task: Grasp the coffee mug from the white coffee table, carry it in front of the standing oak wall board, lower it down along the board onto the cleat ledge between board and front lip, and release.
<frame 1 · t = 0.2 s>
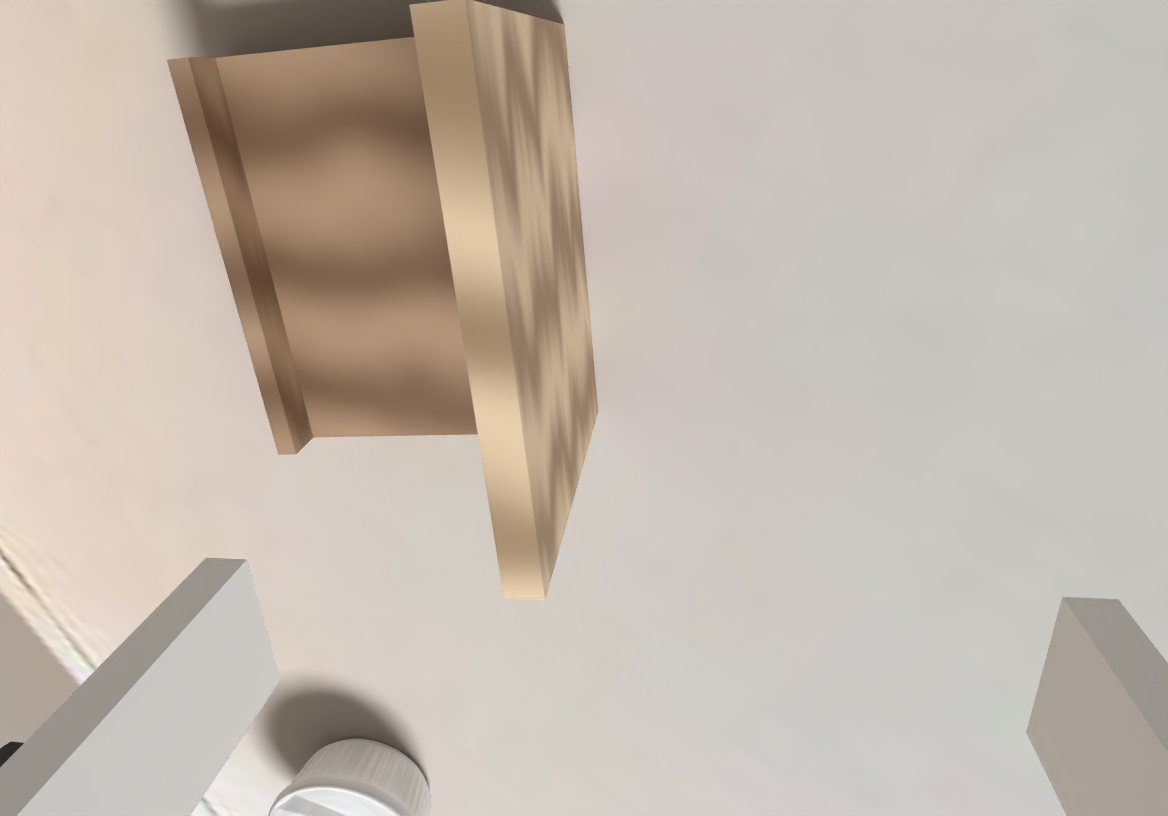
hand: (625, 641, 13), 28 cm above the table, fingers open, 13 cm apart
ramekin: (373, 777, 57), on the table
cleat board: (419, 247, 39), on the table
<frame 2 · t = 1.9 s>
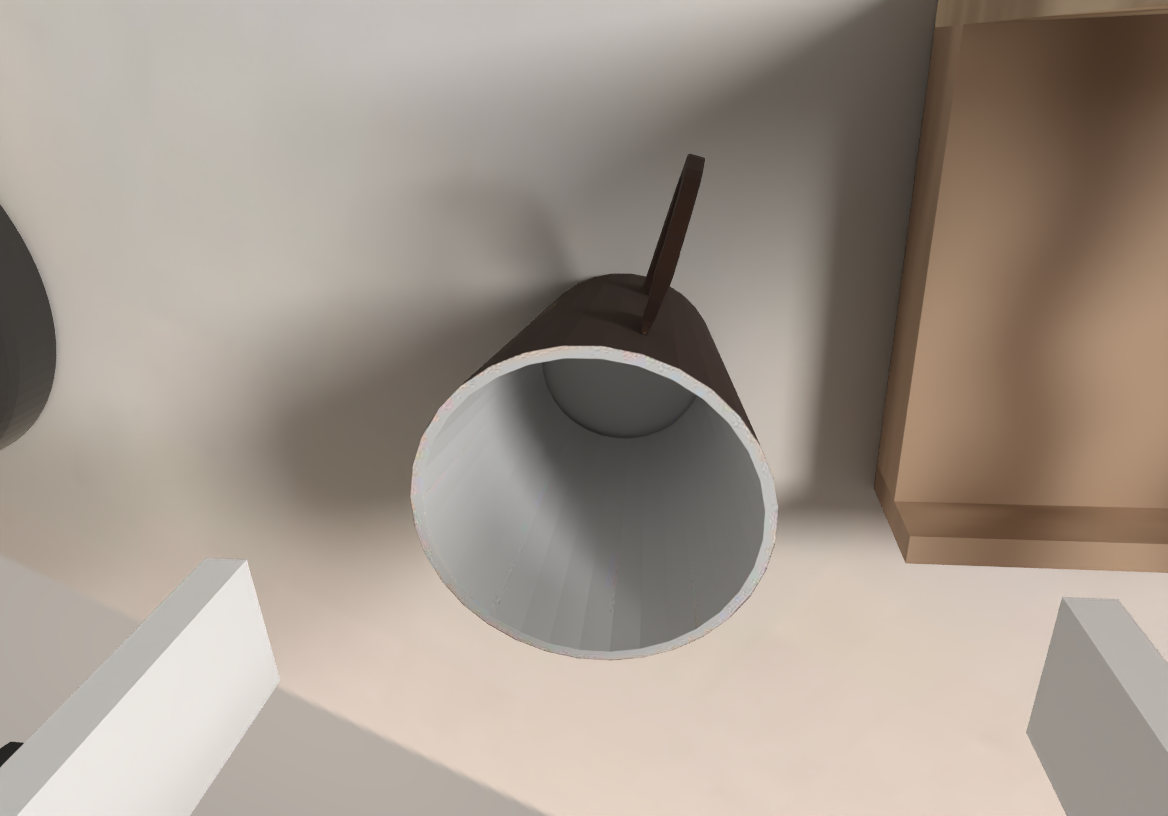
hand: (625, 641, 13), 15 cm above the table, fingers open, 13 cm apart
coffee mug: (652, 330, 26), on the table
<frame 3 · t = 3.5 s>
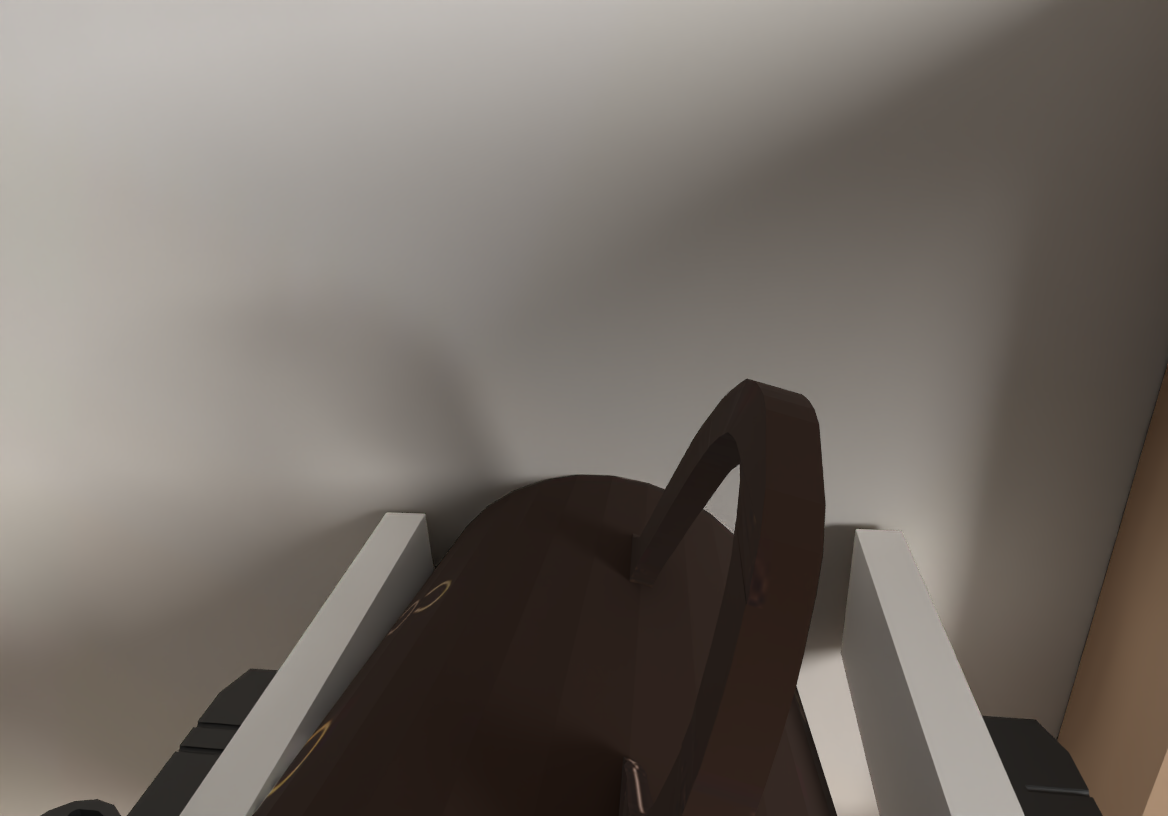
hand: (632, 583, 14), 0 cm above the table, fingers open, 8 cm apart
coffee mug: (654, 566, 14), on the table, touching gripper
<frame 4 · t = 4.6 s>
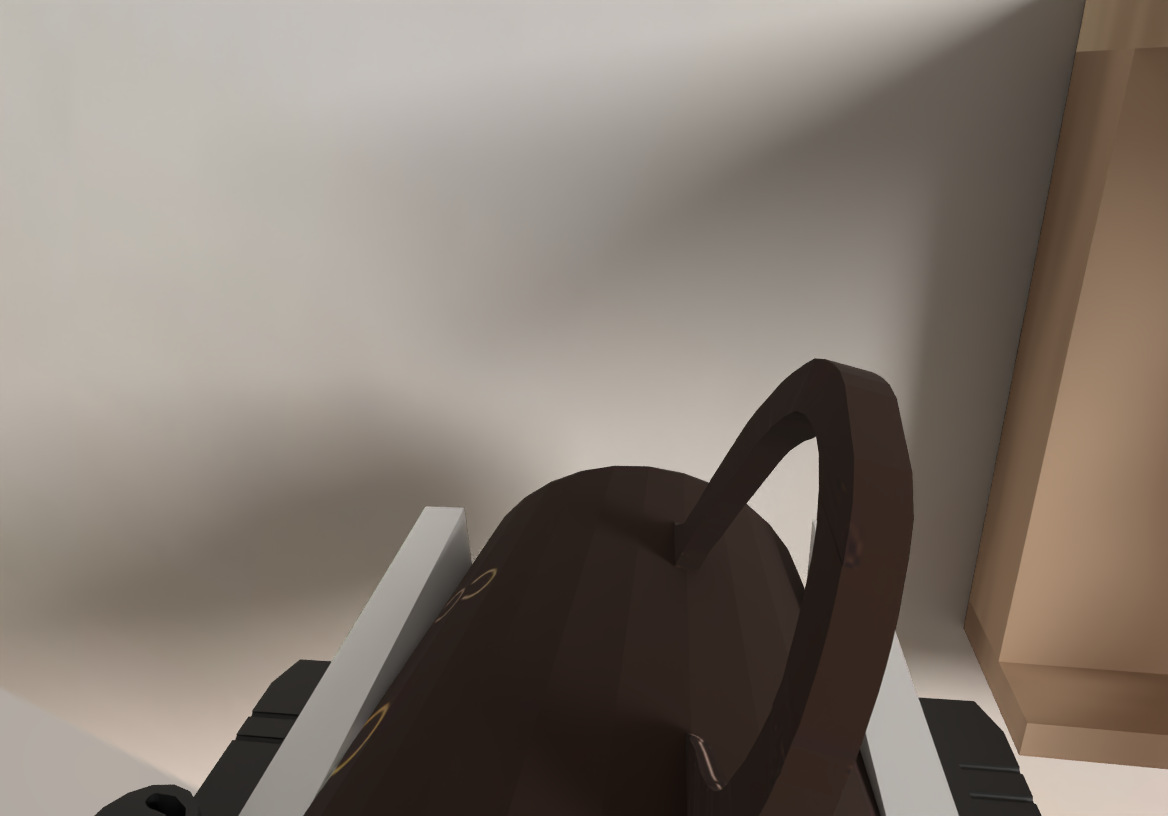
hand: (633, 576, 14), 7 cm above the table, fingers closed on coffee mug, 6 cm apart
coffee mug: (688, 556, 14), point 7 cm above the table, touching gripper
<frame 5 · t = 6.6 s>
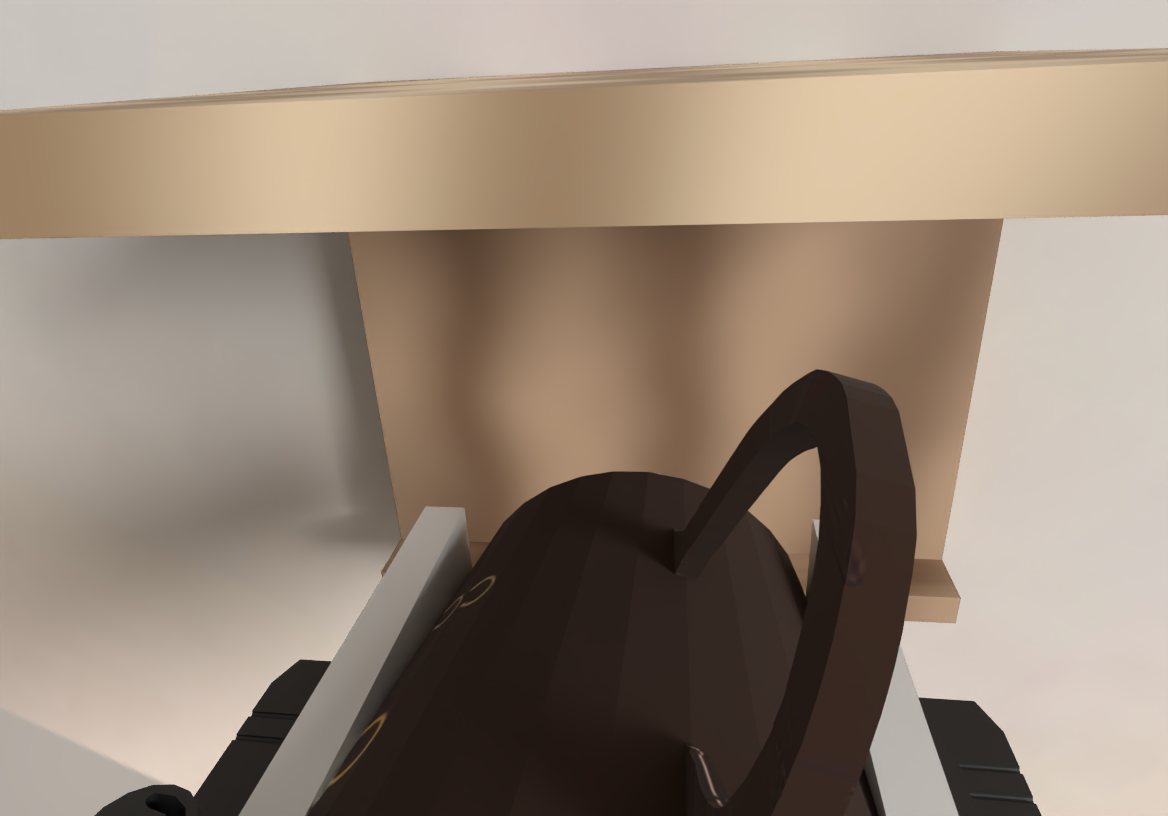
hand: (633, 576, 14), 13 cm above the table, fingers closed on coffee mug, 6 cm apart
coffee mug: (688, 562, 14), point 13 cm above the table, touching gripper
cleat board: (660, 337, 26), on the table
when the fingers open (4 cm above the table, at t = 8.9 s): coffee mug drops 1 cm, resting on cleat board.
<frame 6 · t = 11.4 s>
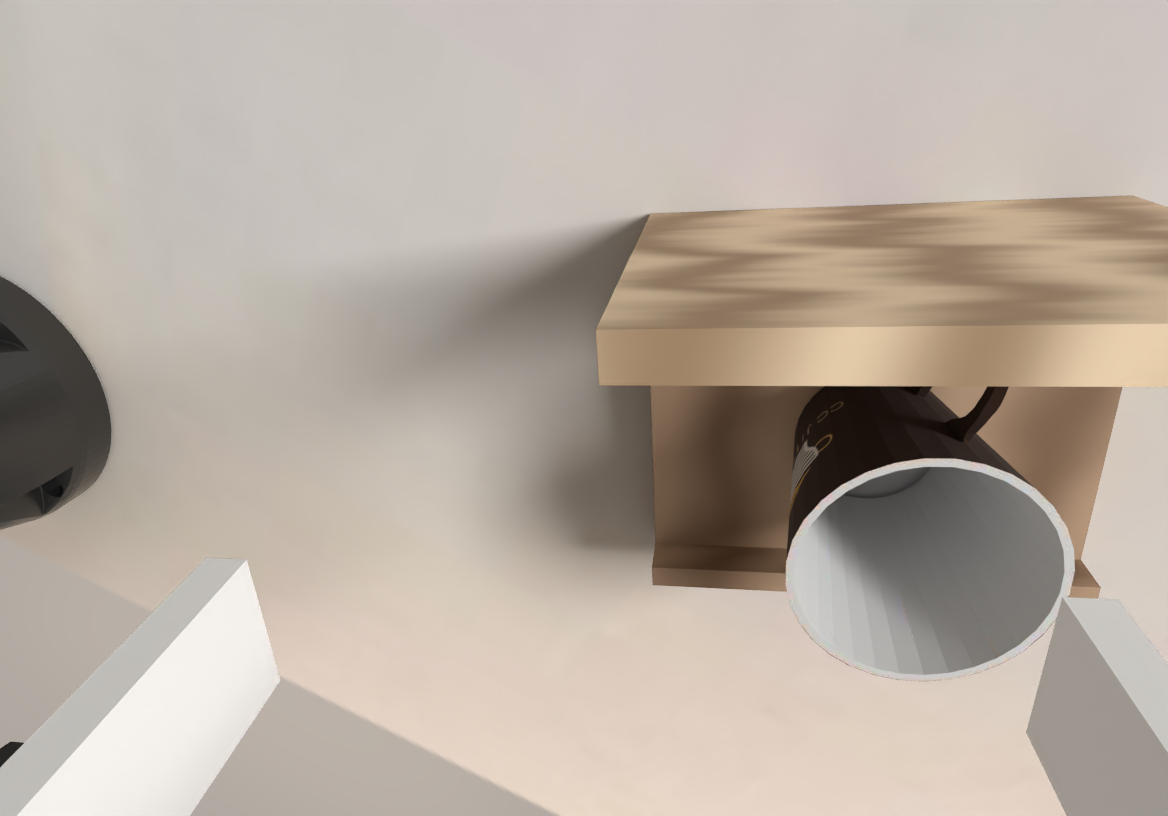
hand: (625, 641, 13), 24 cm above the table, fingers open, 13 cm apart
coffee mug: (895, 412, 33), point 2 cm above the table, touching cleat board
cleat board: (861, 393, 35), on the table
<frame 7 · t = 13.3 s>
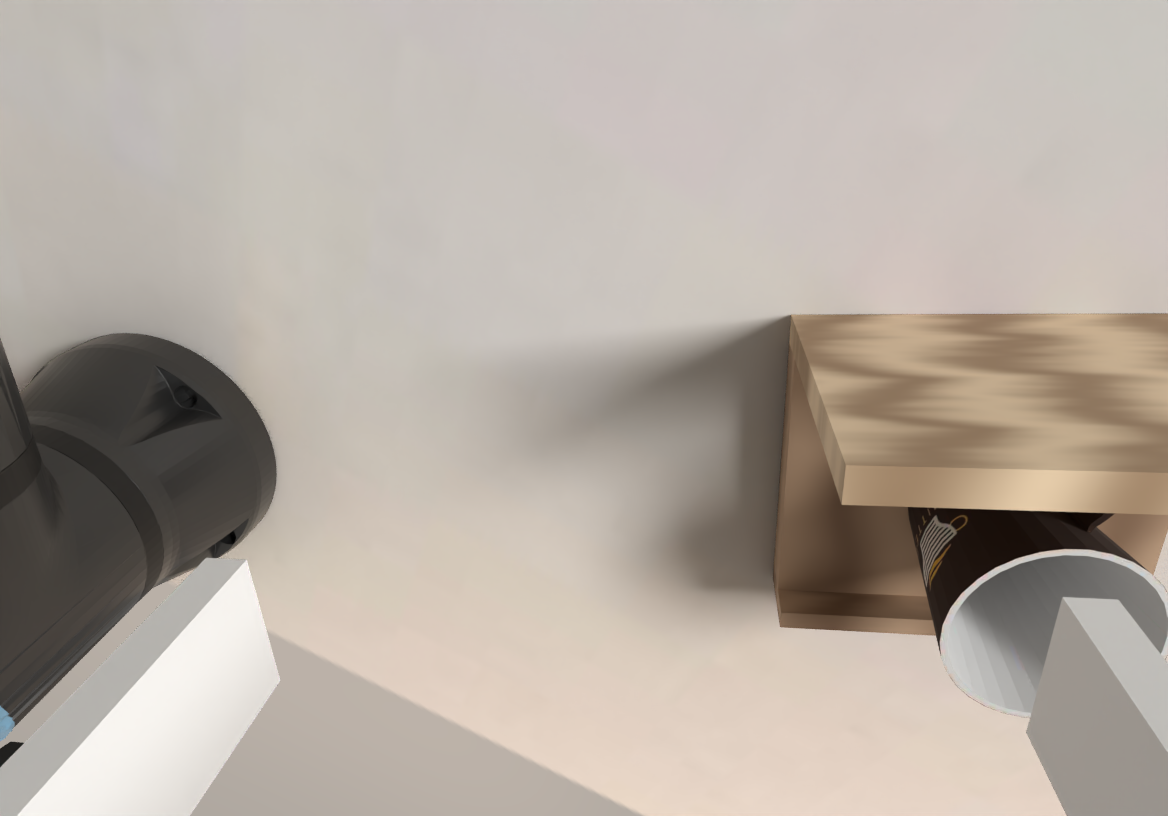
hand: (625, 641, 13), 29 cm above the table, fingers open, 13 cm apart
coffee mug: (996, 485, 39), point 2 cm above the table, touching cleat board
cleat board: (960, 464, 41), on the table
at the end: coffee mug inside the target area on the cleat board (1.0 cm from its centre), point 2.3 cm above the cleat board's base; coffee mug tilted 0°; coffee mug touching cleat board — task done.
